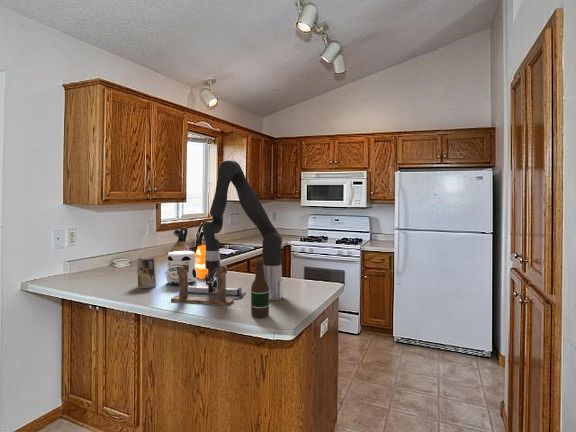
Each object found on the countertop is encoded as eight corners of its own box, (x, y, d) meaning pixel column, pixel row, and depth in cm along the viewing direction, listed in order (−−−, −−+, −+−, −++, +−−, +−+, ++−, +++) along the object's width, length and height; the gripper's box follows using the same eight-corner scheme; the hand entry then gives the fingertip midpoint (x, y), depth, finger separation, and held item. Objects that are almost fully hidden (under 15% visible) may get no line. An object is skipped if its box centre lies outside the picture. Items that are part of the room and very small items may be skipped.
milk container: (170, 288, 205) (170, 256, 204) (163, 281, 219) (162, 252, 218) (200, 284, 214) (200, 253, 213) (191, 278, 229) (191, 249, 227)
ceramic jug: (182, 274, 241) (182, 228, 239) (163, 272, 246) (162, 227, 244) (197, 269, 256) (197, 226, 255) (179, 267, 262) (179, 225, 260)
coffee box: (156, 284, 212) (155, 257, 211) (154, 287, 206) (154, 259, 205) (139, 285, 210) (139, 257, 209) (137, 288, 204) (136, 259, 203)
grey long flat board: (245, 293, 194) (245, 292, 194) (238, 299, 183) (238, 298, 183) (189, 290, 201) (189, 289, 201) (179, 296, 189) (179, 295, 189)
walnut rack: (233, 301, 179) (233, 266, 178) (229, 305, 173) (229, 268, 172) (177, 298, 185) (176, 263, 184) (170, 301, 179) (170, 266, 178)
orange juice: (195, 276, 234) (194, 245, 233) (207, 274, 240) (207, 244, 239) (201, 278, 228) (201, 246, 227) (213, 276, 234) (213, 245, 233)
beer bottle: (252, 312, 163) (252, 258, 162) (270, 313, 162) (270, 259, 161) (249, 318, 155) (249, 262, 154) (267, 318, 155) (267, 262, 153)
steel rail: (241, 294, 190) (241, 287, 190) (239, 296, 187) (239, 289, 187) (187, 291, 196) (187, 284, 196) (184, 293, 193) (184, 286, 192)
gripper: (213, 261, 183) (214, 295, 184) (224, 256, 197) (224, 288, 198) (199, 261, 184) (200, 294, 185) (211, 256, 198) (211, 287, 199)
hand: (212, 291), depth 192 cm, fingers open, 5 cm apart
